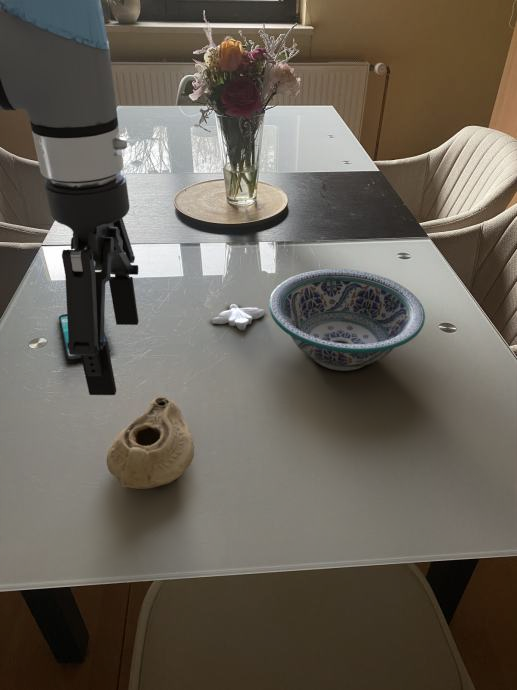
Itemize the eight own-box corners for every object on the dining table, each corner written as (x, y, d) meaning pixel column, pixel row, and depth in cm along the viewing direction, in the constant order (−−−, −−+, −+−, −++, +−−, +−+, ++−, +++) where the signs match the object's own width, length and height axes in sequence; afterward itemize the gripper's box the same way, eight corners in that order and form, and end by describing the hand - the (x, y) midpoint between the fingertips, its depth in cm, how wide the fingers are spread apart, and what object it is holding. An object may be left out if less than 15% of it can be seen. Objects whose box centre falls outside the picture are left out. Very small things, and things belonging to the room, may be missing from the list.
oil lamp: (195, 419, 78) (192, 376, 74) (195, 503, 66) (192, 458, 62) (119, 423, 78) (111, 381, 73) (105, 509, 65) (94, 464, 61)
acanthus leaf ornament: (264, 315, 102) (264, 307, 101) (248, 333, 97) (248, 325, 96) (229, 305, 104) (229, 297, 103) (212, 323, 99) (211, 314, 98)
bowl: (359, 423, 78) (368, 372, 73) (237, 353, 92) (237, 305, 86) (441, 350, 93) (453, 303, 88) (325, 299, 107) (330, 255, 101)
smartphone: (67, 360, 88) (58, 314, 99) (68, 364, 88) (58, 318, 100) (111, 351, 90) (97, 307, 101) (111, 355, 91) (98, 311, 102)
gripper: (91, 228, 41) (128, 430, 53) (146, 139, 61) (163, 300, 73) (-8, 227, 40) (51, 430, 53) (79, 138, 61) (107, 300, 73)
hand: (116, 355), depth 63 cm, fingers open, 13 cm apart
